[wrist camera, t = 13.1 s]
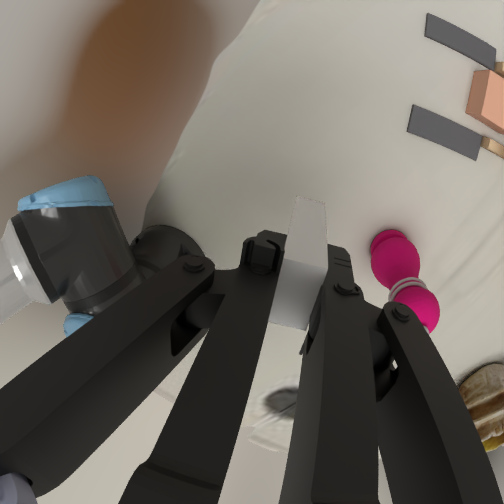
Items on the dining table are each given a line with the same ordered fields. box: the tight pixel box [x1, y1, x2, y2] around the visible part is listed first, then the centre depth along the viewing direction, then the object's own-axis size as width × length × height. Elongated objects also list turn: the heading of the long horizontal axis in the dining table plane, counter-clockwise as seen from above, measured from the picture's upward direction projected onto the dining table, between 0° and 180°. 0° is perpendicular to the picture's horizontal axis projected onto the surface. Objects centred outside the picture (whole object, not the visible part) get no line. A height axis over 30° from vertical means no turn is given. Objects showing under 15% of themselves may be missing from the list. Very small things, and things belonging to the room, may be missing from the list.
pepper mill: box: [371, 230, 440, 335], centre depth 33 cm, size 7×7×20 cm
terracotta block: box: [465, 70, 504, 134], centre depth 26 cm, size 7×7×5 cm
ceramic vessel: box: [459, 364, 504, 452], centre depth 43 cm, size 23×24×25 cm
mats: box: [407, 13, 496, 161], centre depth 28 cm, size 12×19×1 cm, turn 171°
